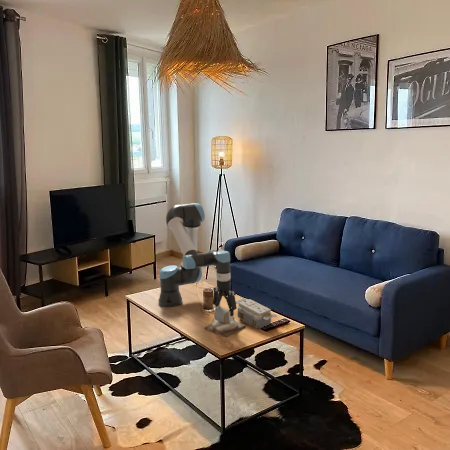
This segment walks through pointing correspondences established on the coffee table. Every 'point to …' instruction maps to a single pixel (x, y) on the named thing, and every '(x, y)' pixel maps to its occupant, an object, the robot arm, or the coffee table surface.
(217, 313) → the ceramic mug
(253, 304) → the electrical outlet
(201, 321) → the coffee table surface
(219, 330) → the pedestal
